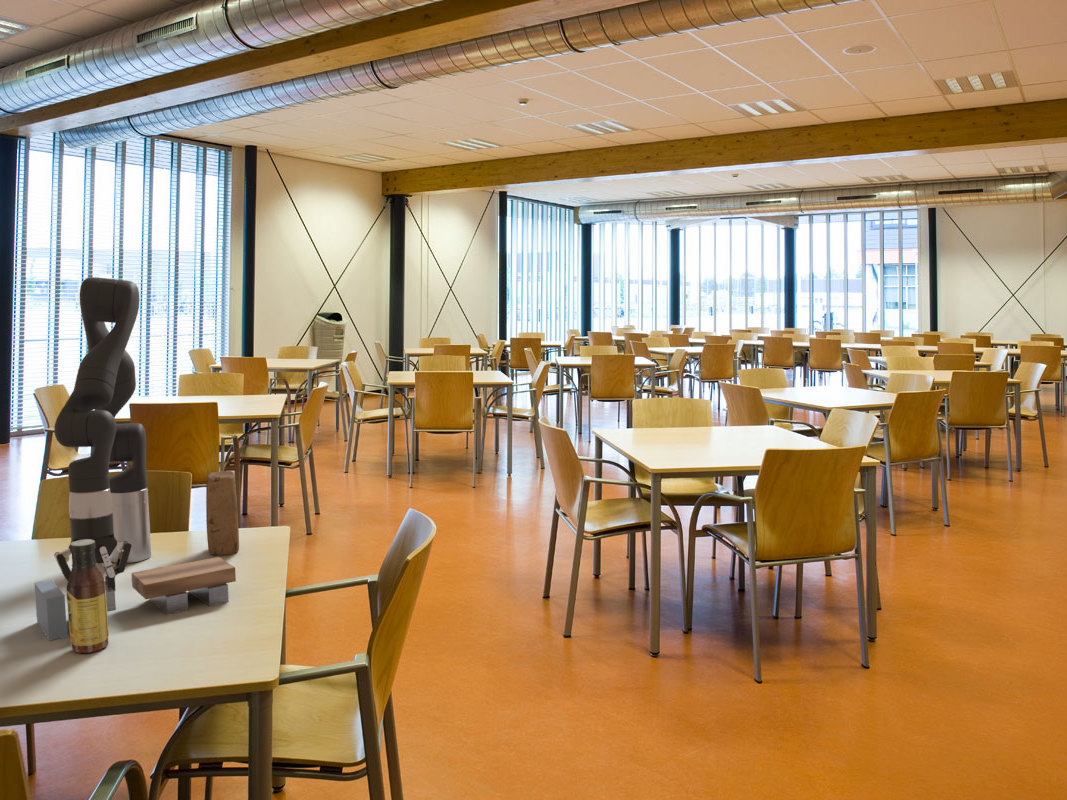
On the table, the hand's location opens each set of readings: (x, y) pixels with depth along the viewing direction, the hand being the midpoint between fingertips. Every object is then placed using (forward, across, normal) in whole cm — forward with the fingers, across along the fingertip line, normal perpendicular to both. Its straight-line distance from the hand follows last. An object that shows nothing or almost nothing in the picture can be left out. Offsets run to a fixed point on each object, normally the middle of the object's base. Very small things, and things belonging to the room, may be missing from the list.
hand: (96, 597), depth 173 cm
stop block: (+5, +8, 0) cm, 9 cm away
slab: (+1, -17, 0) cm, 17 cm away
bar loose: (+1, 0, 0) cm, 1 cm away
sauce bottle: (+5, +5, +15) cm, 16 cm away
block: (+5, -36, -33) cm, 49 cm away
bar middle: (+5, -14, 0) cm, 14 cm away
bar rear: (+5, -22, 0) cm, 22 cm away
